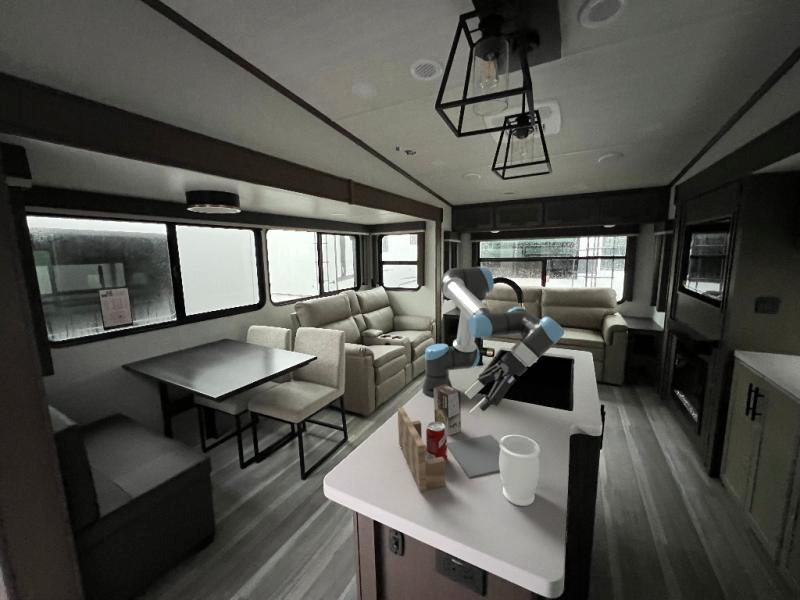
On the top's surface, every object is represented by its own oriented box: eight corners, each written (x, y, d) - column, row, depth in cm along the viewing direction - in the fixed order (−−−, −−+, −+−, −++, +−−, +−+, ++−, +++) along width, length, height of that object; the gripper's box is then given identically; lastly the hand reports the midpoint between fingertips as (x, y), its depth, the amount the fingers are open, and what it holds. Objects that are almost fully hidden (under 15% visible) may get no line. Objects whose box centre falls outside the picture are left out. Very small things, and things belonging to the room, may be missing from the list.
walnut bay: (399, 444, 112) (397, 408, 110) (420, 441, 114) (419, 404, 112) (419, 492, 89) (418, 446, 87) (445, 486, 90) (444, 441, 89)
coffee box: (461, 431, 119) (461, 391, 117) (448, 436, 116) (448, 395, 114) (446, 421, 127) (445, 383, 125) (434, 425, 124) (433, 387, 122)
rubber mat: (445, 444, 111) (445, 443, 111) (490, 436, 115) (490, 434, 115) (469, 478, 93) (469, 476, 93) (521, 466, 98) (521, 464, 98)
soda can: (434, 469, 98) (433, 433, 97) (423, 457, 104) (422, 424, 102) (451, 462, 101) (451, 427, 100) (439, 451, 107) (439, 418, 106)
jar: (535, 515, 79) (536, 461, 77) (494, 500, 84) (494, 449, 83) (541, 489, 88) (542, 440, 86) (504, 477, 93) (504, 430, 92)
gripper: (542, 382, 83) (485, 434, 86) (516, 355, 108) (473, 396, 111) (521, 363, 83) (465, 416, 86) (500, 340, 108) (458, 382, 111)
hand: (469, 405), depth 99 cm, fingers open, 13 cm apart
